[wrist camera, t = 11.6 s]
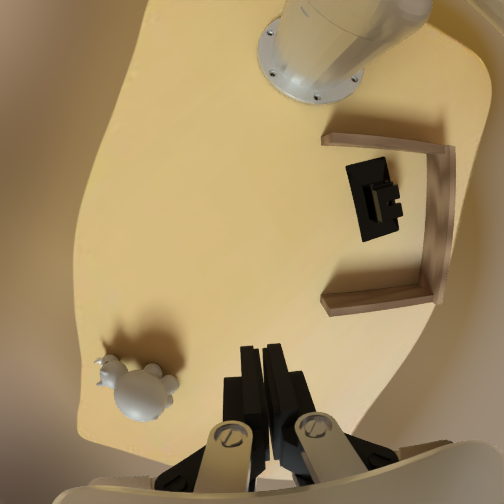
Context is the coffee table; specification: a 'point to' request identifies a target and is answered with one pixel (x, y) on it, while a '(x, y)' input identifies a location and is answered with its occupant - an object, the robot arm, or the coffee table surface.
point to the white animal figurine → (137, 388)
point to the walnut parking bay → (436, 229)
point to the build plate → (374, 198)
